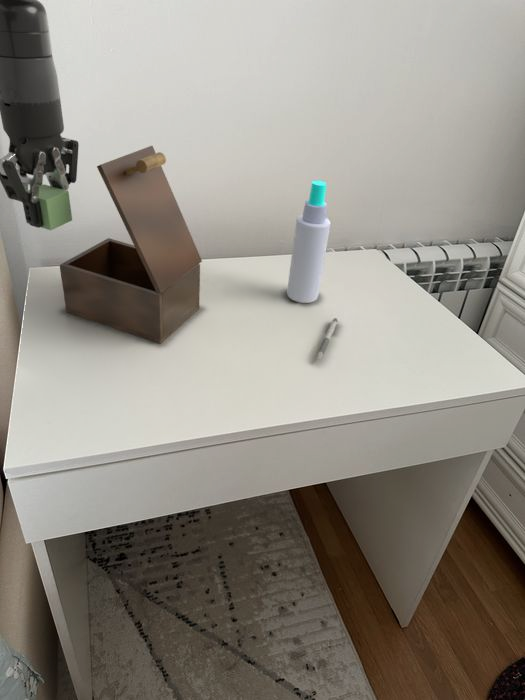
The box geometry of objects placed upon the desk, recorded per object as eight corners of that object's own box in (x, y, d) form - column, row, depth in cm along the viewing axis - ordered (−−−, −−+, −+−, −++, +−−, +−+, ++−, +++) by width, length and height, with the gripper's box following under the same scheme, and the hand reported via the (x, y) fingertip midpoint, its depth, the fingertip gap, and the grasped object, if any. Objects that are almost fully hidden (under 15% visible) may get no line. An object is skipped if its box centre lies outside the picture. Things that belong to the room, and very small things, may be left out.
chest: (66, 311, 91) (59, 264, 86) (112, 281, 101) (108, 237, 96) (160, 344, 86) (159, 296, 81) (199, 308, 96) (200, 264, 91)
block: (50, 230, 76) (46, 199, 74) (26, 223, 77) (20, 192, 75) (72, 220, 80) (68, 190, 77) (48, 213, 81) (44, 184, 78)
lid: (96, 166, 73) (122, 155, 71) (148, 146, 83) (173, 136, 81) (157, 293, 81) (182, 288, 78) (198, 262, 91) (222, 256, 88)
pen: (338, 323, 96) (339, 316, 95) (319, 366, 85) (320, 358, 84) (332, 322, 96) (333, 315, 95) (313, 364, 85) (314, 357, 84)
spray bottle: (323, 296, 104) (343, 184, 91) (306, 307, 100) (324, 191, 87) (298, 285, 106) (314, 174, 94) (280, 295, 102) (294, 181, 90)
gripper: (45, 81, 75) (62, 200, 85) (-41, 97, 64) (-10, 230, 74) (89, 90, 73) (101, 210, 83) (7, 107, 62) (33, 243, 72)
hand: (49, 219), depth 78 cm, fingers closed on block, 4 cm apart
